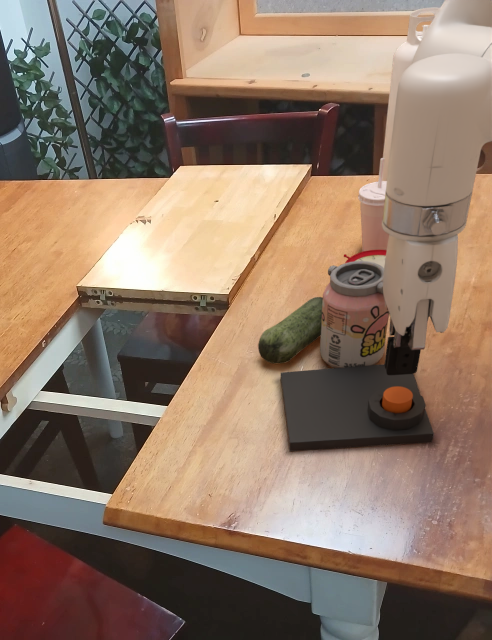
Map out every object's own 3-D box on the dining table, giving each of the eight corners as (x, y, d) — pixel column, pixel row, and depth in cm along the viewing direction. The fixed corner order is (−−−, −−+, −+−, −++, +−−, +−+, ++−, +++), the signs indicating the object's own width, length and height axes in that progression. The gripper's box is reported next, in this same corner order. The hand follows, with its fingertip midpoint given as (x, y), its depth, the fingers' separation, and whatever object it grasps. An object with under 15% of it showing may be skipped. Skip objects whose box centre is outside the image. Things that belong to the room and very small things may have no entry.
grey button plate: (408, 370, 93) (411, 351, 91) (432, 442, 84) (436, 422, 82) (280, 380, 96) (280, 361, 94) (289, 451, 87) (289, 432, 84)
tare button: (408, 395, 86) (409, 385, 85) (413, 412, 84) (415, 402, 83) (379, 397, 87) (381, 387, 86) (384, 414, 85) (386, 404, 83)
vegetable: (282, 376, 97) (282, 344, 93) (251, 363, 100) (250, 331, 96) (344, 326, 102) (346, 294, 99) (313, 316, 105) (314, 284, 102)
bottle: (427, 192, 126) (455, 1, 106) (430, 214, 121) (460, 16, 101) (377, 195, 128) (396, 8, 108) (378, 216, 123) (398, 23, 103)
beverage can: (349, 328, 102) (356, 247, 93) (402, 349, 97) (415, 265, 88) (306, 359, 99) (309, 278, 90) (358, 382, 93) (366, 298, 85)
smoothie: (385, 237, 118) (395, 147, 108) (403, 255, 113) (416, 162, 103) (347, 246, 118) (353, 157, 108) (363, 264, 113) (372, 172, 103)
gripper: (490, 241, 63) (451, 409, 76) (448, 172, 73) (421, 331, 86) (398, 250, 64) (376, 414, 77) (371, 181, 75) (355, 336, 88)
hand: (400, 370), depth 82 cm, fingers closed
